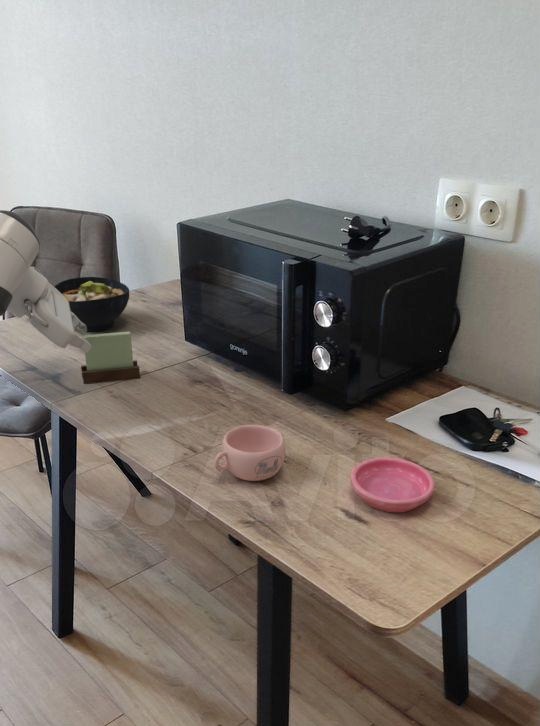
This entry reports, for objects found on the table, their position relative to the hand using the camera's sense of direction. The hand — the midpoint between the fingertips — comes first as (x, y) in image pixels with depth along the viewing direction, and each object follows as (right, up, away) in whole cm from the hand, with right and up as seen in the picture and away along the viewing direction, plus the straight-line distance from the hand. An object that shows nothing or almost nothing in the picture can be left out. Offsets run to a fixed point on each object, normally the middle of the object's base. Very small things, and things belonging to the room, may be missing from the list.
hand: (87, 339), depth 134 cm
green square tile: (+3, -6, +6) cm, 9 cm away
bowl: (-6, +9, +30) cm, 32 cm away
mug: (+31, -26, -23) cm, 46 cm away
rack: (+3, -6, +6) cm, 9 cm away
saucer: (+53, -29, -27) cm, 66 cm away
